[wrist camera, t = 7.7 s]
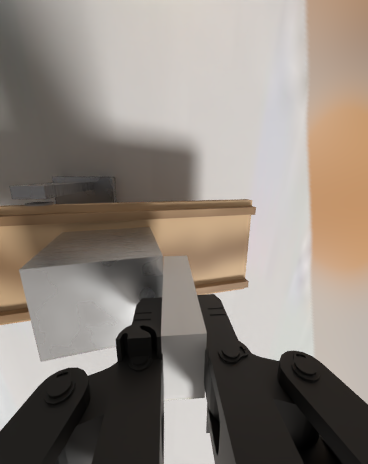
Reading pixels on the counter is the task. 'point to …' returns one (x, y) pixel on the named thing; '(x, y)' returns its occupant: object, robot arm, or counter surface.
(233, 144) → the counter surface
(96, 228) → the balance beam
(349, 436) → the robot arm
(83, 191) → the balance stand
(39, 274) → the block
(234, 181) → the counter surface
